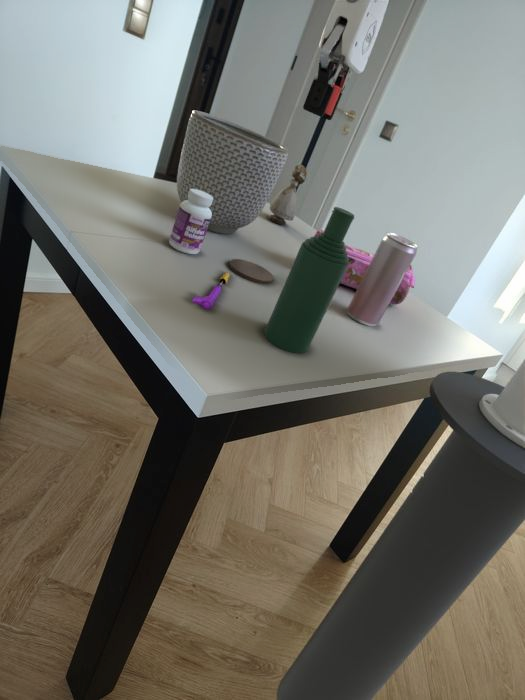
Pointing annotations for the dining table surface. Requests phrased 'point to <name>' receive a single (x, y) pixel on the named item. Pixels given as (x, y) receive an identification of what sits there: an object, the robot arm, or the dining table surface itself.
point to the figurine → (287, 198)
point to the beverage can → (382, 279)
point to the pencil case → (359, 266)
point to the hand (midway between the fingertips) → (317, 113)
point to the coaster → (251, 271)
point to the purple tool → (211, 294)
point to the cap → (333, 99)
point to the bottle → (310, 286)
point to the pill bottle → (192, 222)
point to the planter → (228, 169)
